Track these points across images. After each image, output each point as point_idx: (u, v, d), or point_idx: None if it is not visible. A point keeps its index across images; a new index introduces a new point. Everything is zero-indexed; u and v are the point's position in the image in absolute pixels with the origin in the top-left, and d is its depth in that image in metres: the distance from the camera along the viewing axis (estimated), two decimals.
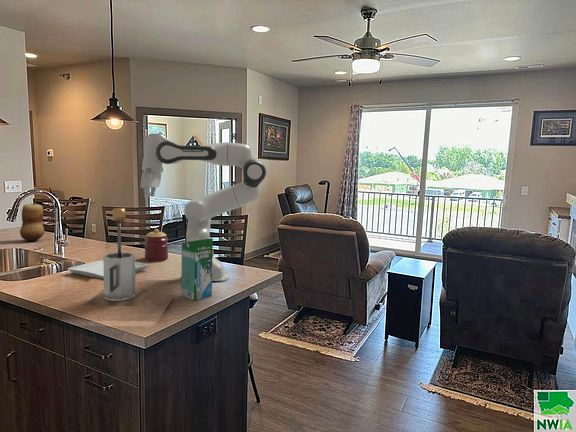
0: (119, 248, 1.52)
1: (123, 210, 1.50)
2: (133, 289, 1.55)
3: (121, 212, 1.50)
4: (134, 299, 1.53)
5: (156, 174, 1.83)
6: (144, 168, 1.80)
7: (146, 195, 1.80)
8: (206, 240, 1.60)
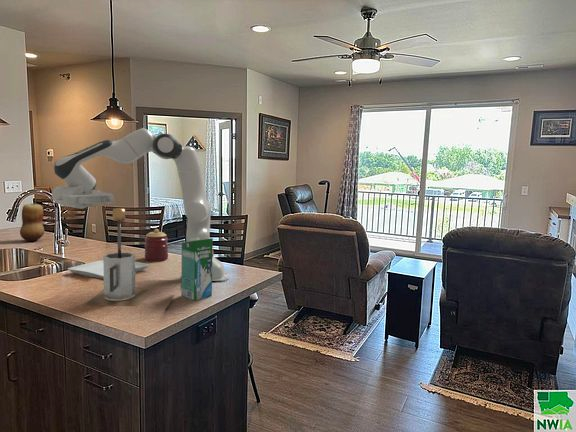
0: (119, 248, 1.52)
1: (123, 210, 1.50)
2: (133, 289, 1.55)
3: (121, 212, 1.50)
4: (134, 299, 1.53)
5: (79, 192, 1.61)
6: None
7: (85, 200, 1.53)
8: (206, 240, 1.60)
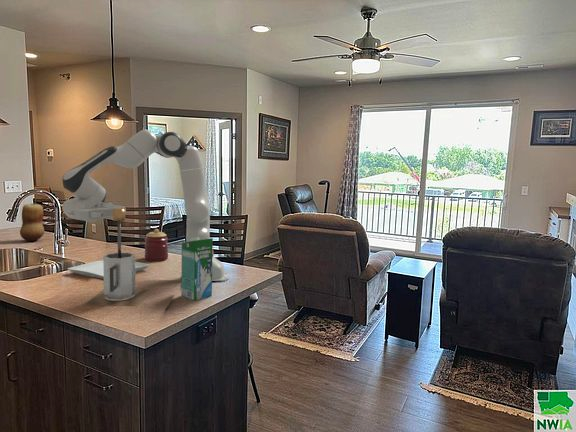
0: (119, 248, 1.52)
1: (123, 210, 1.50)
2: (133, 289, 1.55)
3: (121, 212, 1.50)
4: (134, 299, 1.53)
5: (91, 205, 1.57)
6: None
7: (97, 214, 1.49)
8: (206, 240, 1.60)
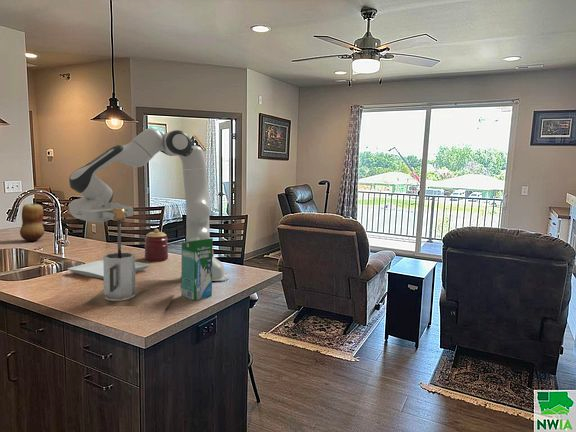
0: (119, 248, 1.52)
1: (123, 210, 1.50)
2: (133, 289, 1.55)
3: (121, 212, 1.50)
4: (134, 299, 1.53)
5: (98, 205, 1.55)
6: None
7: (110, 214, 1.48)
8: (206, 240, 1.60)
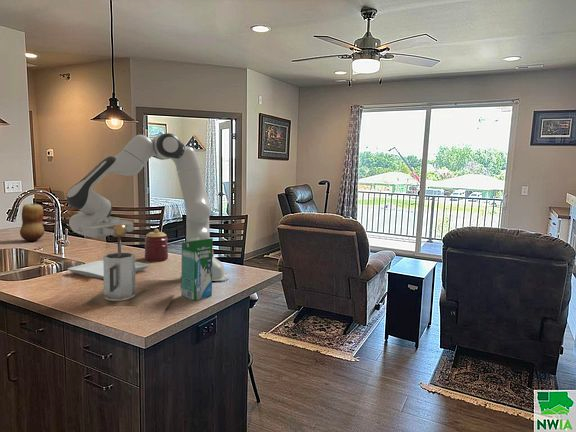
0: None
1: (123, 226, 1.51)
2: (133, 289, 1.55)
3: (121, 228, 1.51)
4: (134, 299, 1.53)
5: (99, 221, 1.56)
6: None
7: (110, 231, 1.49)
8: (206, 240, 1.60)
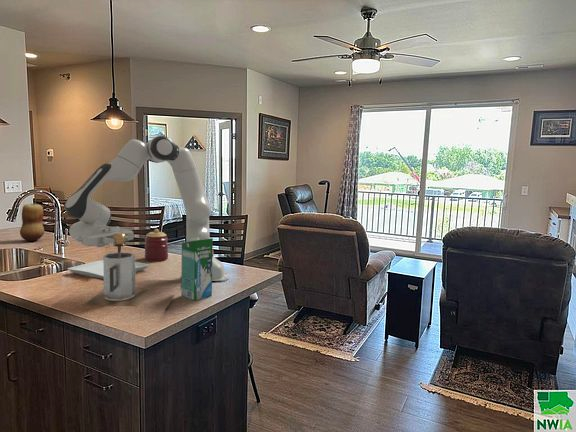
0: None
1: (123, 235, 1.52)
2: (133, 289, 1.55)
3: (122, 238, 1.51)
4: (134, 299, 1.53)
5: (99, 230, 1.56)
6: None
7: (110, 240, 1.50)
8: (206, 240, 1.60)
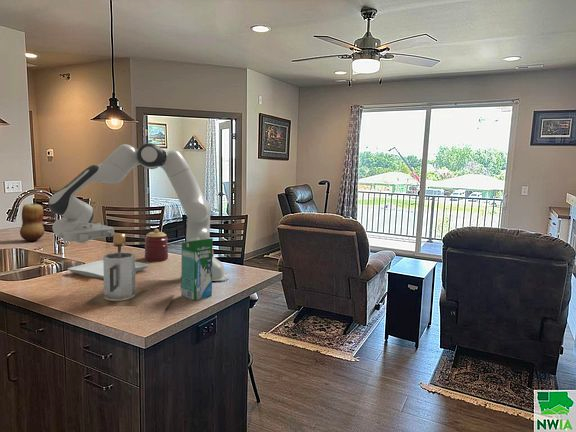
0: None
1: (123, 236, 1.52)
2: (133, 289, 1.55)
3: (122, 238, 1.51)
4: (134, 299, 1.53)
5: (80, 226, 1.63)
6: None
7: (85, 237, 1.55)
8: (206, 240, 1.60)
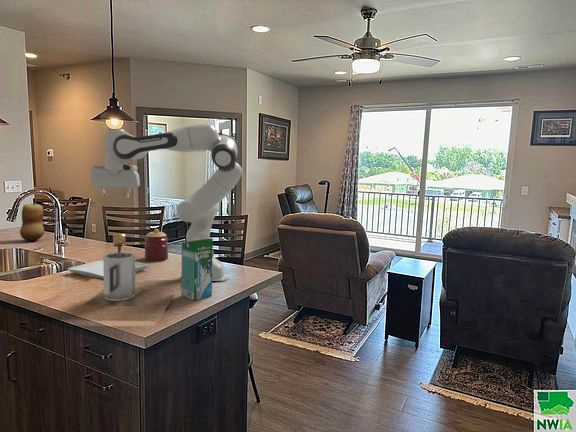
0: None
1: (123, 236, 1.52)
2: (133, 289, 1.55)
3: (122, 238, 1.51)
4: (134, 299, 1.53)
5: (109, 172, 1.71)
6: None
7: None
8: (206, 240, 1.60)
